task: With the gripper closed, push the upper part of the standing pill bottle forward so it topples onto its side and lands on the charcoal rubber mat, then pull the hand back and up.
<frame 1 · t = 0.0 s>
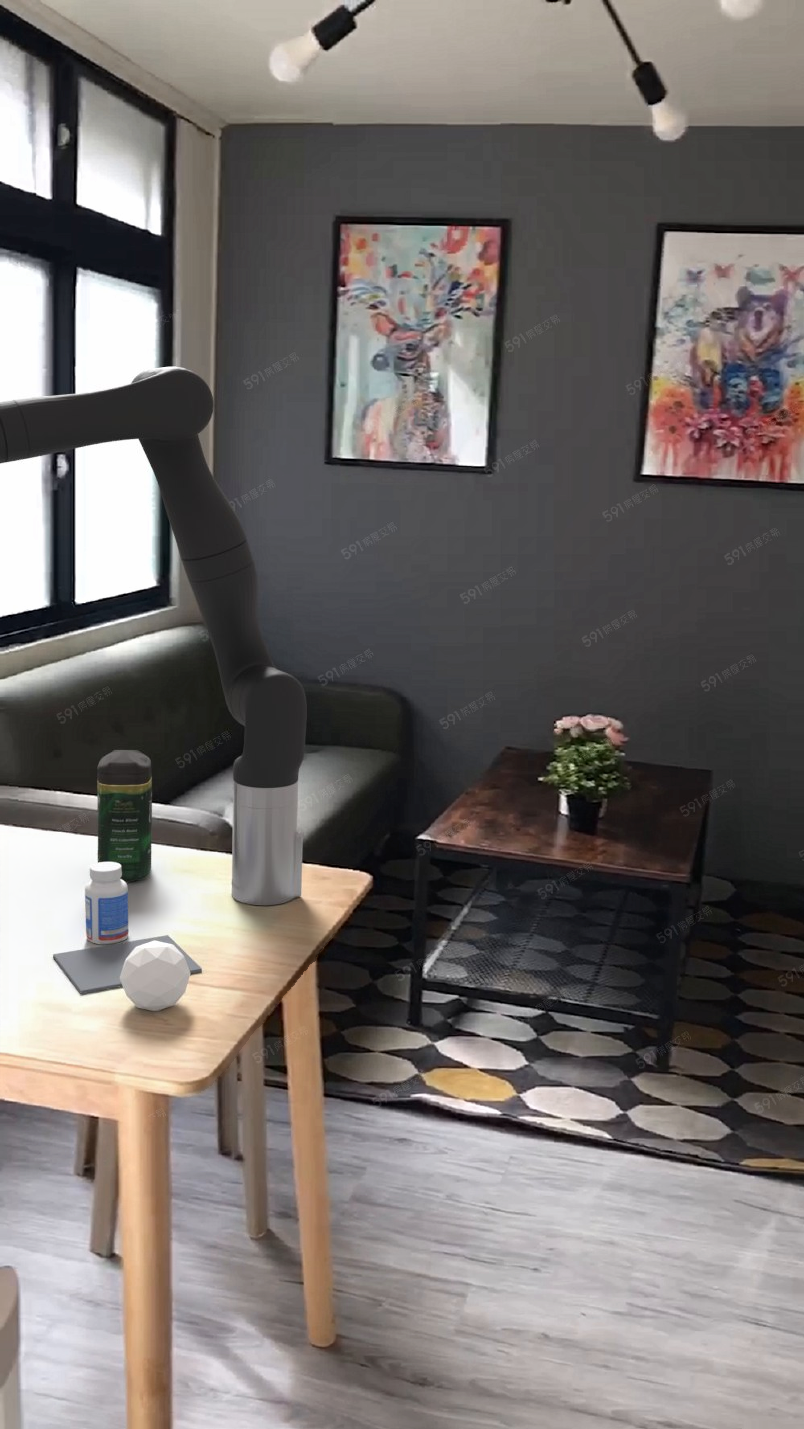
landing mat: (126, 964, 156), on the table
geometric ball: (155, 1007, 145), on the table
coffee jar: (125, 875, 189), on the table
pill bottle: (107, 938, 164), on the table
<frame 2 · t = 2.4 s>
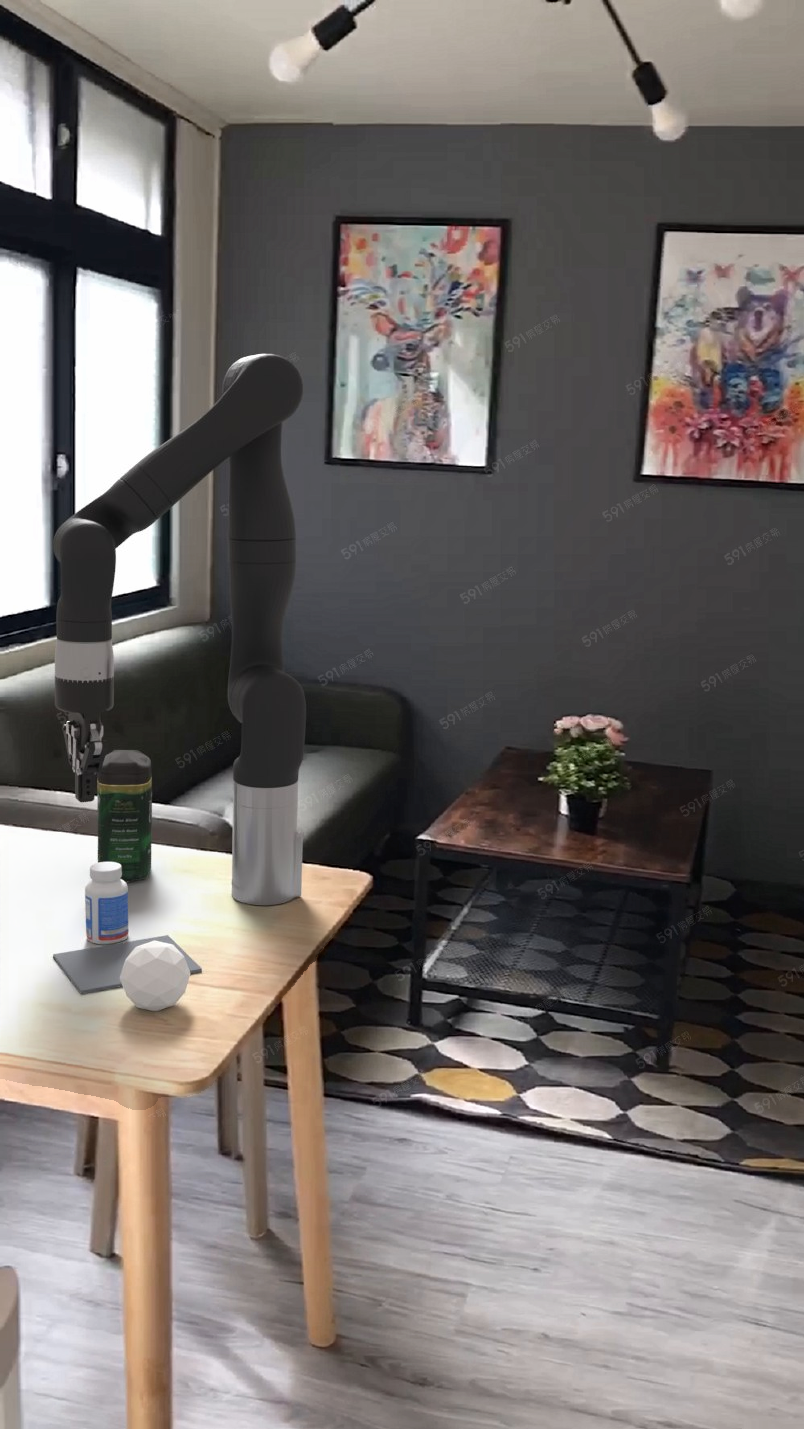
hand: (84, 800, 168), 16 cm above the table, fingers closed
nothing on the table moved.
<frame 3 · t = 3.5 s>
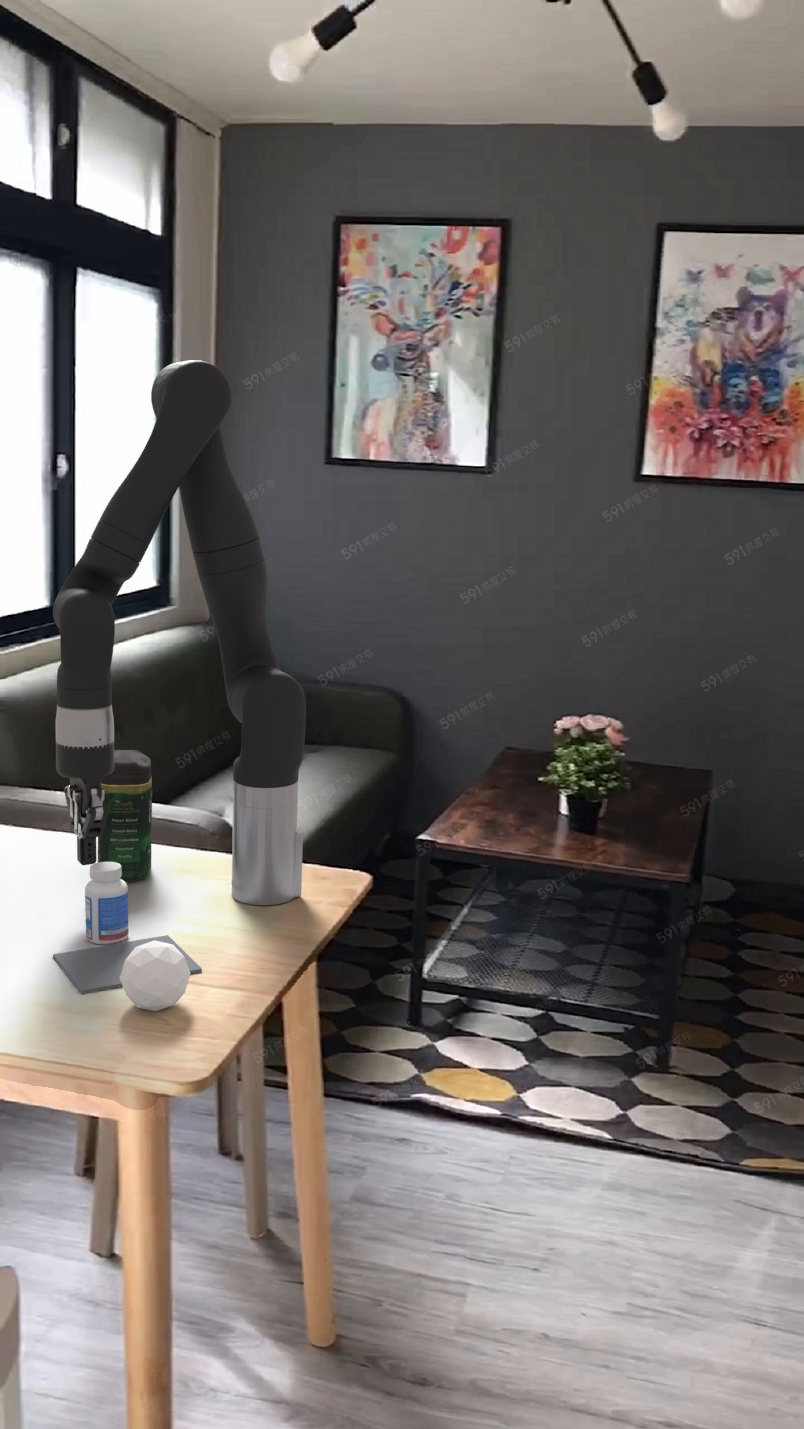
hand: (86, 862, 170), 8 cm above the table, fingers closed
nothing on the table moved.
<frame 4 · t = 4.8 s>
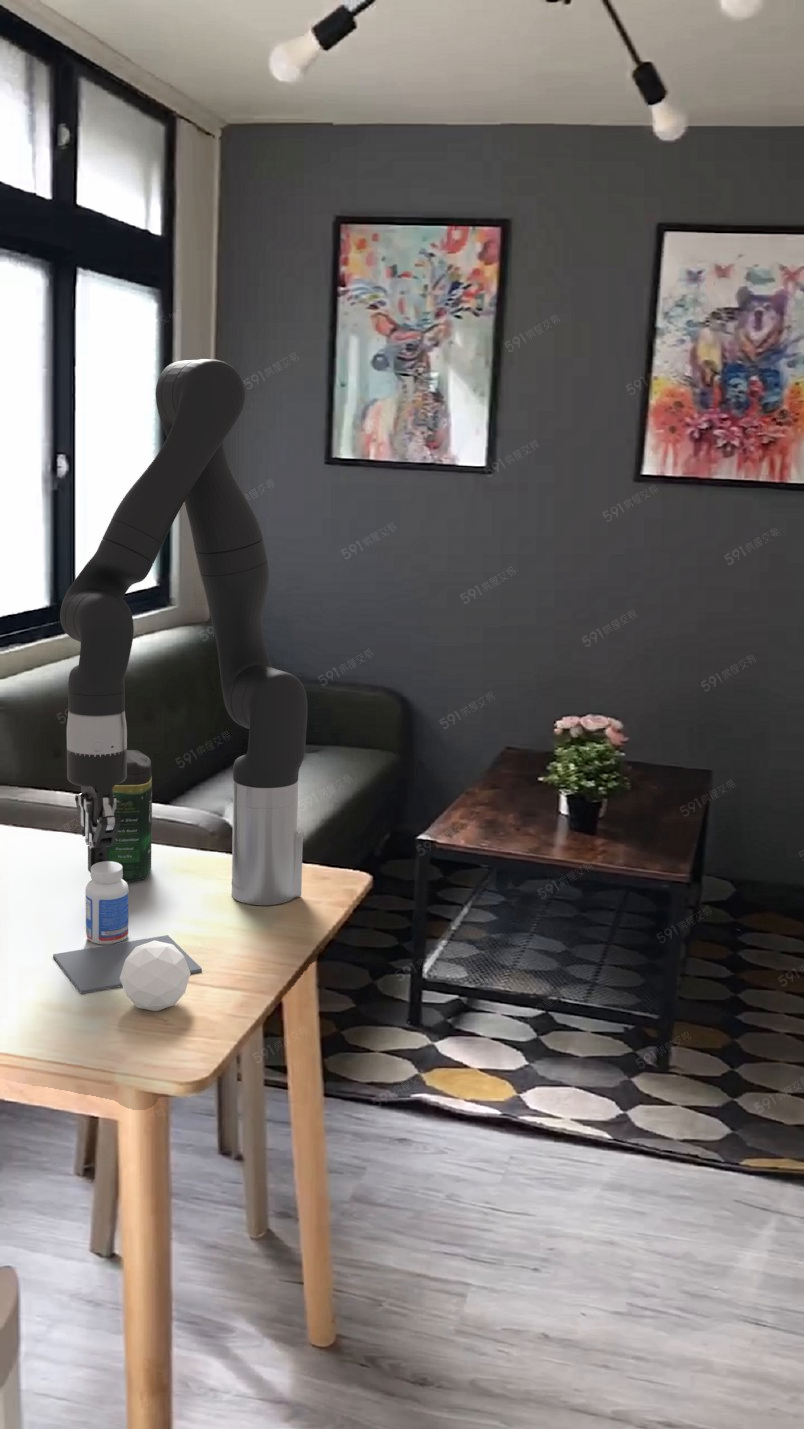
hand: (97, 873, 165), 8 cm above the table, fingers closed
pill bottle: (107, 937, 164), on the table, touching gripper
everything else where it was.
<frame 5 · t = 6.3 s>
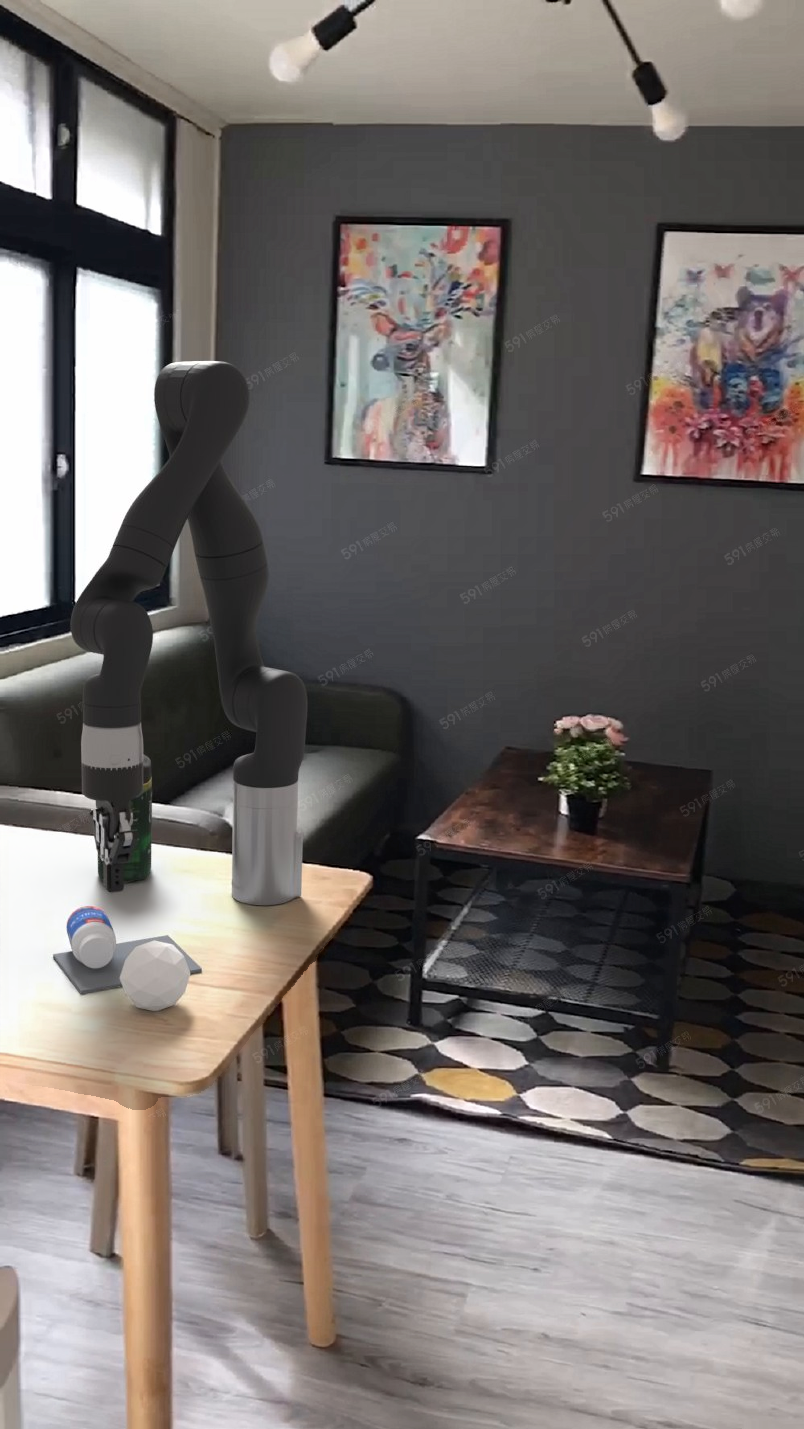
hand: (113, 889, 160), 8 cm above the table, fingers closed
pill bottle: (86, 923, 160), point 3 cm above the table, touching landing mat
everything else where it was.
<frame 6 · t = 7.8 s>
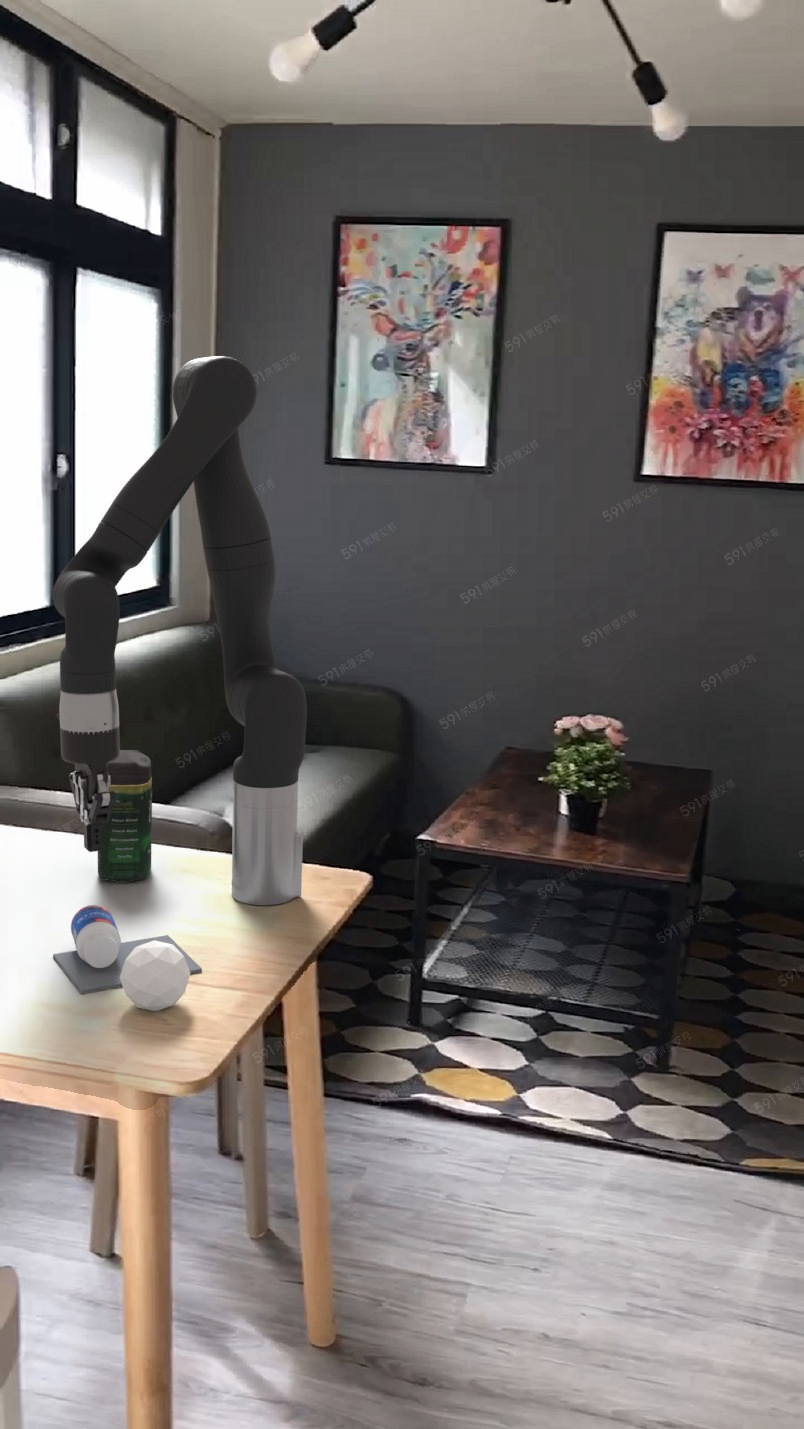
hand: (93, 849, 168), 10 cm above the table, fingers closed
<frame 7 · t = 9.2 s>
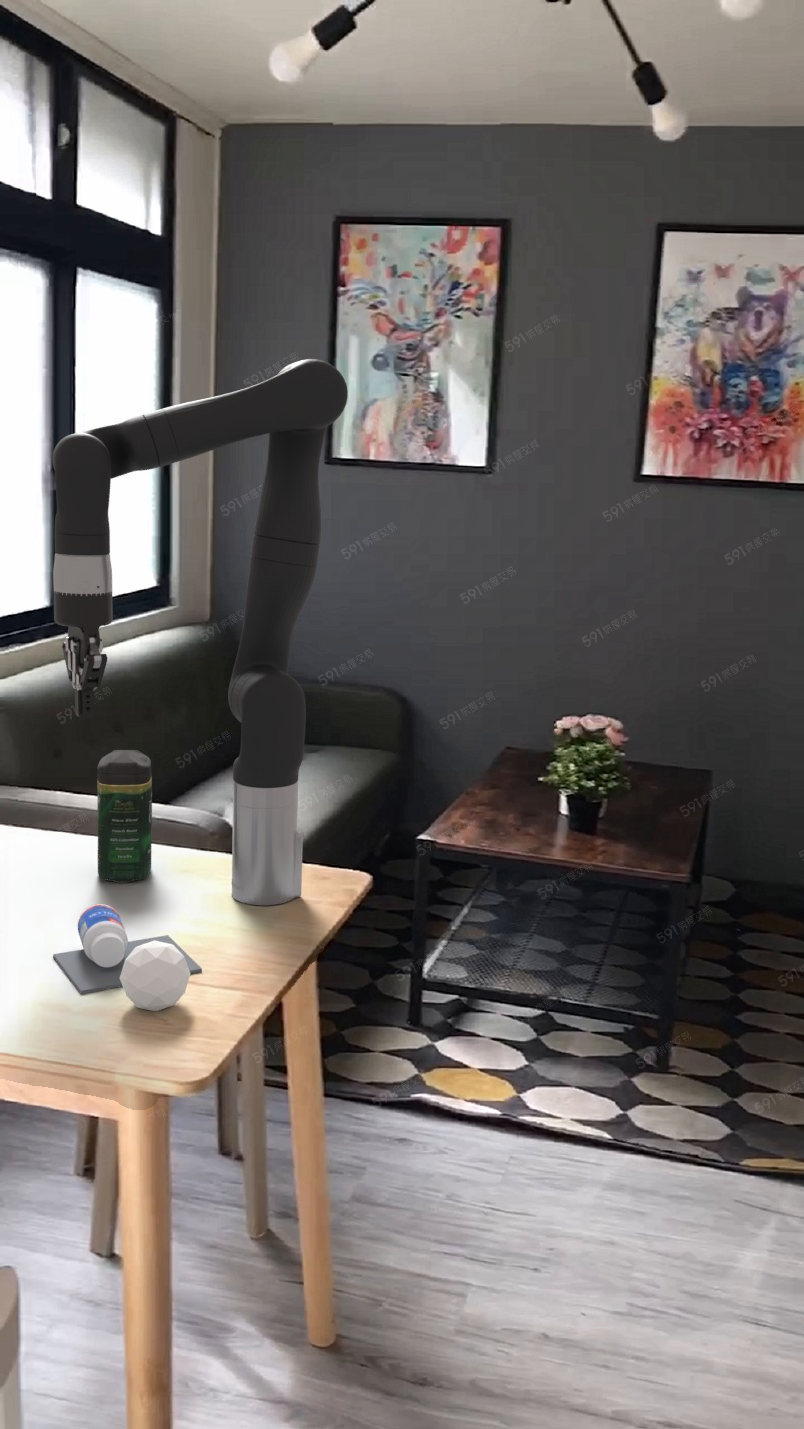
hand: (85, 716, 169), 27 cm above the table, fingers closed
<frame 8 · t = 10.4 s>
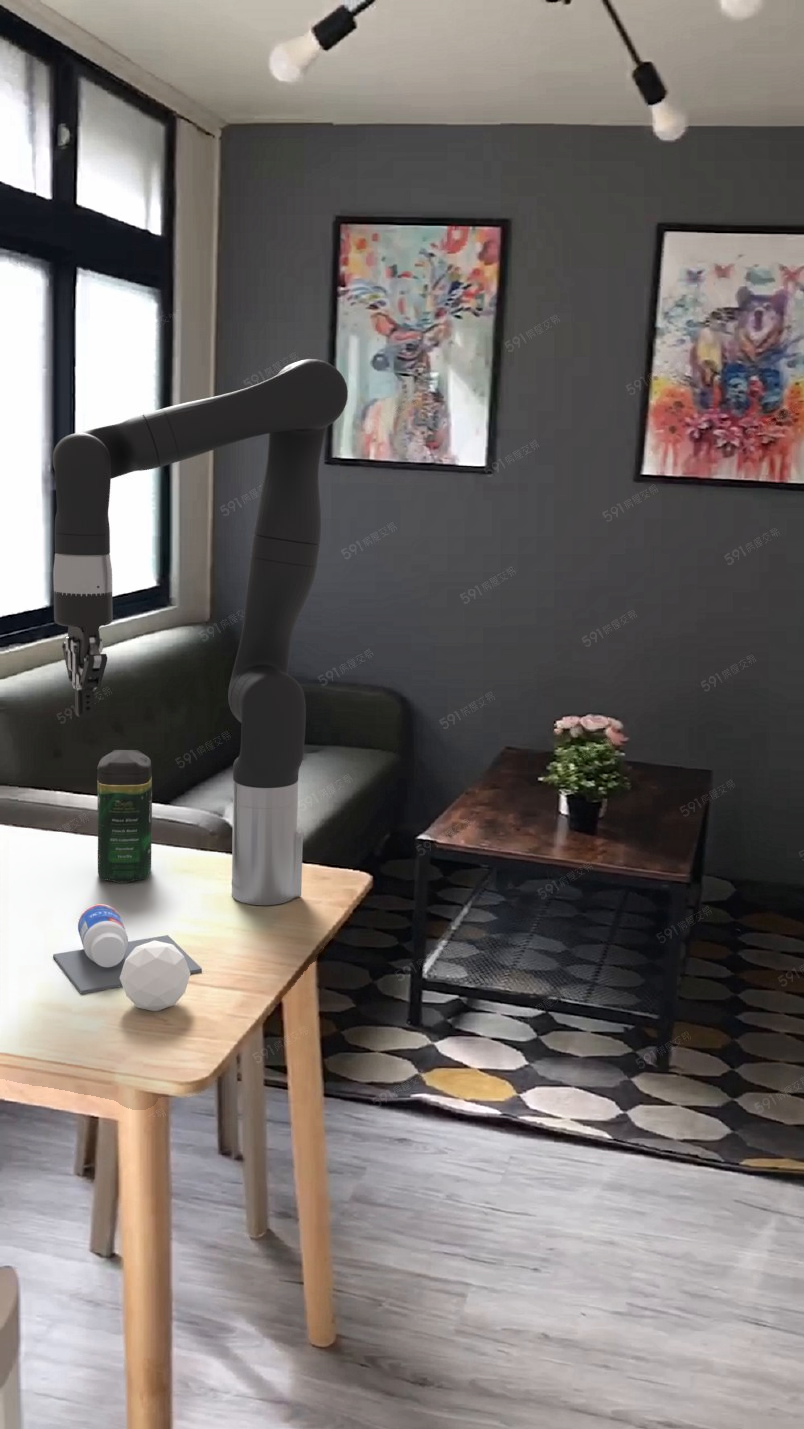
hand: (85, 716, 169), 27 cm above the table, fingers closed
at the end: pill bottle tilted 90°; pill bottle touching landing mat; pill bottle inside the target area (4.2 cm from its centre), point 3.1 cm above the table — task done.
